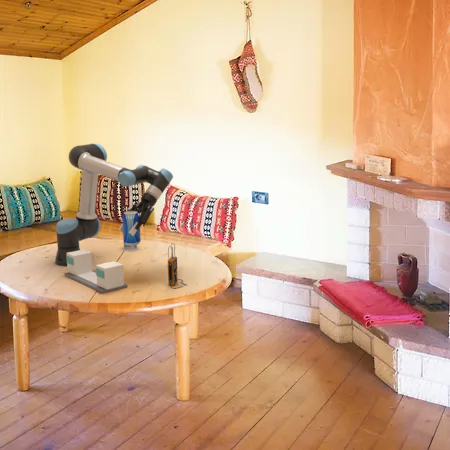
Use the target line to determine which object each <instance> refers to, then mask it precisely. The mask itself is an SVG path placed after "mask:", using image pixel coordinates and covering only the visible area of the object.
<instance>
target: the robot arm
mask: <svg viewBox="0 0 450 450" xmlns="http://www.w3.org/2000/svg"><path fill="white" fill-rule="evenodd" d="M107 159H108V154H107V151H106V149H105V147H104V146H103V145H102V144H99V143H89V144H81V145H76V146H74V147H72V148H71V149H70V151H69V152H68V161H69V163H70V164H71V166H73V167H74V168H77V169H79V170H81V171H82V172H81V186H80V196H79V197H80V199H79V211H77V213H76V214H75V218H74V217H72V218H71V217H69V218H64V219H61V220H59V221H58V222H57V223H56V229H55V231H56V233H55V234H56V241H57V242H56V244H57V251H56V255H55V258H54V260H55V264H56V265H57V264H58V265H57V266H63V267H64V266H65V267H66V266H67V259H66V256H67V254H66V253H68V252H73V251H78V250H81V248H80V242H81V241H83V240H86V239H92V238H93V237H95V236H97V235H98V234H99V233H100V232H101V231H100V230H101V226H102V225H101V221H100V219H99V218H98V215H97V214H96V202H97V191H98V183H99V175H101V176H103V177H106V178H109V179H111V180H114V181H116V182H118V183H119V184H120V185H121V186H123V187H131V186H135V185H138V184H144V183H147V184H149V185H148V187H147V189H146V190H145V192H144V193H143V194H142V195H141V197H140V198H141V199H140V200H141V201H139V202H137V201H136V202H134V204H133V206H132V207H130V210H128V211H137V212H138V214H139V216H140V217H139V220H138V221H137V222H136V223H135V225H134V226H133V228H132V229H131V230H130V232H129V233H130V234H131V235H132V236H134V234H135V233H136V231H137V230H138V229H139V228H140V229H141V226H143V225H146V224H147V222H148V220H149V218H150V216H151V214H152V213H153V211H154V210H155V208H154V207H155V205H156V203H157V202H158V200H159V199H160V198H161V196H162V195H163V193H164V191H165V190H166V189H167V187H168V186H169V185H170V184H171V181H172V180H173V179H174V175H173V173H172V172H171V171H170V170H169V169H166V168H161V169H160V170H156V169H153V168H152V167H149V166H147V165H143V164H139V165H138V166H136V168H134V169H130V168H126V167H125V166H121V165H118V164H115V163H113V162H110V161H107ZM118 230H119V231H120V232H121V233H123V223H122V224H121V225H120V227H119V228H118Z"/></svg>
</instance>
